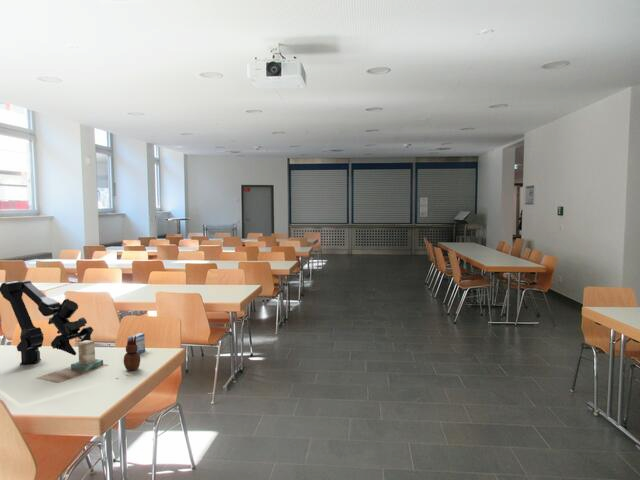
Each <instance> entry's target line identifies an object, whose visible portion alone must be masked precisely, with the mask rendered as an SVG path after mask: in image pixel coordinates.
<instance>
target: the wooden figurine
mask: <svg viewBox="0 0 640 480" xmlns="http://www.w3.org/2000/svg"><path fill="white" fill-rule="evenodd" d="M134 335H135V334H134ZM126 342H127V343H126V347H125V352H126V353H125V354H124V356H123V366H124V368H125V370H127V371H129V372H131V371H132V372H133V371H137V370H138V369H139V367H140V365H141V355H140V353H137V345H136V335H135V337H134V341H133V337H131V340H130V339H129V341H128V340H127V341H126Z"/></svg>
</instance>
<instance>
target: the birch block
mask: <svg viewBox="0 0 640 480" xmlns="http://www.w3.org/2000/svg"><path fill="white" fill-rule="evenodd" d="M77 344H78V349H77V350H78V362H79V364H81V365H89V364H91V363H94V362H95V359H96V347H95V346H96V345H95V344H96V343H95V340H91V341H90V340H85V341H82V342H81V341H79V342H78V343H77Z"/></svg>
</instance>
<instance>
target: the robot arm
mask: <svg viewBox="0 0 640 480" xmlns="http://www.w3.org/2000/svg"><path fill="white" fill-rule="evenodd" d="M0 293H1V294H0V295H2V298H3V299H5V300H6V301H8V302H9V304H10V306H11V308H12V310H13V311H12V312H13V313H14V315H15V319H16V320H17V323H18V325H19V327H20V331H21V332H20V334H19V335H20V336H19V338H20V342H19V343H18V344H17V346H16V350H17V352H20V357H21V361H20V363H19V365H34V364H37V363H38V362H40V361H42V359H41V352H40V351H41V350H40V349H39V348H42V346H43V342H44V339H45V338H44V333H43V332H42V329H41V327H39V326H38V327H36V326H35V325H34V324H33V321H32V319H31V316H30V314H29V311H28V309H27V306H26V304H25V302H24V300H23V294H24V295H26V296H27V297H28V298H29V299H30V300H31V301H33V303H35V304H36V305H37V308H38V311H39V312H40V314H41V315H42V316H44V317H48V322H47V323H48V325H54V327H55V328H56V329H57V332H56V333H57V334H58V335H56V336H55V337H54V339H52V341H51V342H50V346H51V348H52V349H53V350H54V349H55V350H60V351H63V352H65V353H68V354H70V355H72V356H76V355H77V352H76V350H75V349H74V347H73V346H72V345H71V343H70V340H71V341H72V340H74V339H77V338H78V339H79V340H80V342H82V341H85V340H90V341H92V339H91V335H92V334H93V332H94V329H93V327H92V326H86V324H88V322H87V319H86V318H85V317H80V318H78V320H74V321H70V320H69V319H70V318H72V316H73V315H74V314H75V313H76V311H77V310H79V305H78V303H77V302H75V301H73V300H70V299H69V298H65V299H63V301H62V303H61V302H59V301H57V300H55V299H54V298H50V297H48V296H47V295H45V294H44V293H43V292H42V291H41V290H40V289H39V288H37V287H36V286H35V284H33V283H32V281H31V280H28V279H27V280H19V281H18V280H14V281H8V282H7V281H6V282H2V283H1V284H0ZM50 316H52V317H50ZM81 328H82V329H81Z"/></svg>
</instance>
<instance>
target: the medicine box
mask: <svg viewBox="0 0 640 480" xmlns="http://www.w3.org/2000/svg"><path fill="white" fill-rule="evenodd" d="M135 335H136V345H137V353H139V354H141V353H144V351H146V337H145V335H146V334H145V333H144V332H143V333H142V332H141V333H135V334H132V335H130V336H128V337H127V342H128V341H129V339H130V340H131V337H133V341H134V337H135Z"/></svg>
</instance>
